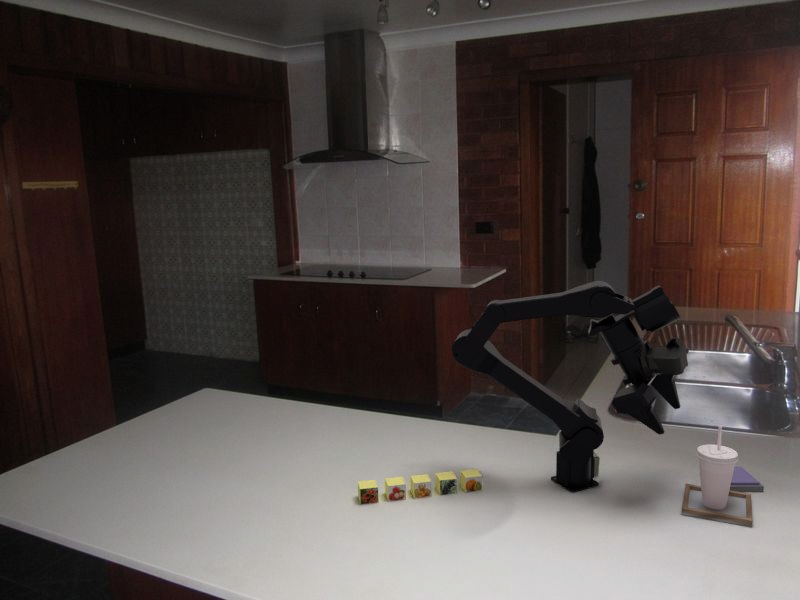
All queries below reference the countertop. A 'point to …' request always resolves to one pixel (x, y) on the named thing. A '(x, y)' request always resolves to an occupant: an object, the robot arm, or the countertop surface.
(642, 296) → the robot arm
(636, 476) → the countertop surface
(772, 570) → the countertop surface
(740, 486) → the ink pad
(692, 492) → the marked square
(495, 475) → the countertop surface
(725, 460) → the smoothie
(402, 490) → the fruit picture blocks
